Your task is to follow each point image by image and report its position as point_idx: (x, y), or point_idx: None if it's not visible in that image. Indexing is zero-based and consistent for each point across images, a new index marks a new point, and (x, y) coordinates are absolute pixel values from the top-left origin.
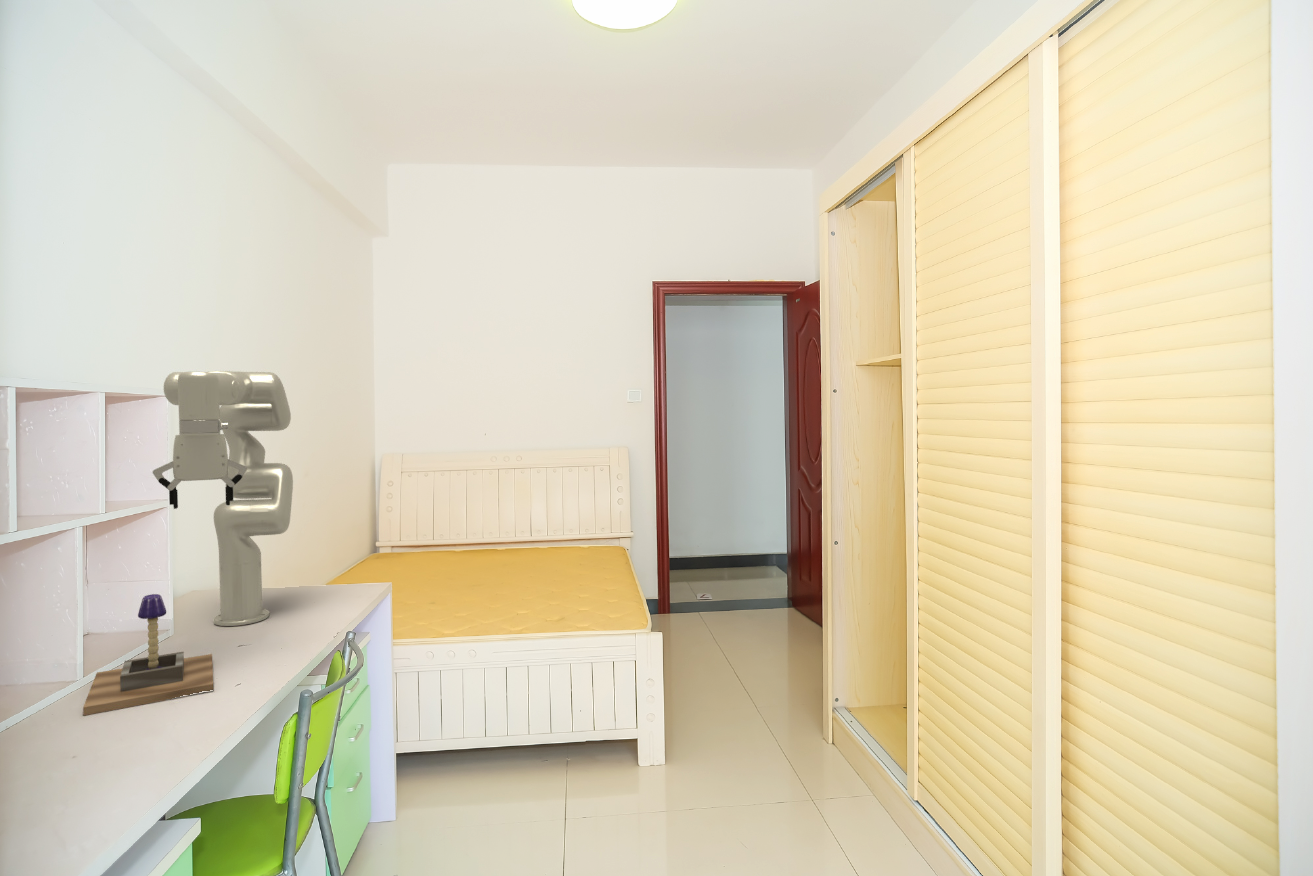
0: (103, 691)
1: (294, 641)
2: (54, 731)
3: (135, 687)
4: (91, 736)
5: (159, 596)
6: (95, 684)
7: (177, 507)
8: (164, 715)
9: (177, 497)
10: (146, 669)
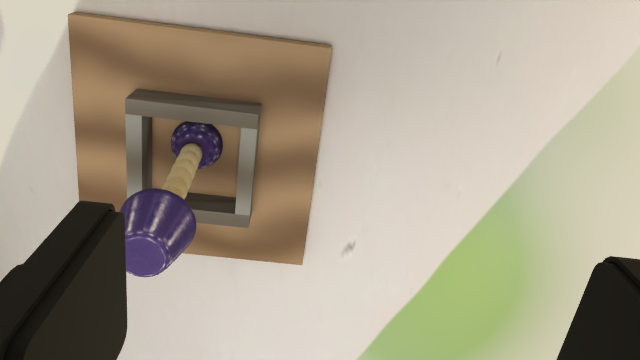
0: (104, 173)
1: (547, 17)
2: None
3: None
4: None
5: (165, 268)
6: (80, 114)
7: (124, 340)
8: (217, 313)
9: (81, 337)
10: (178, 147)
